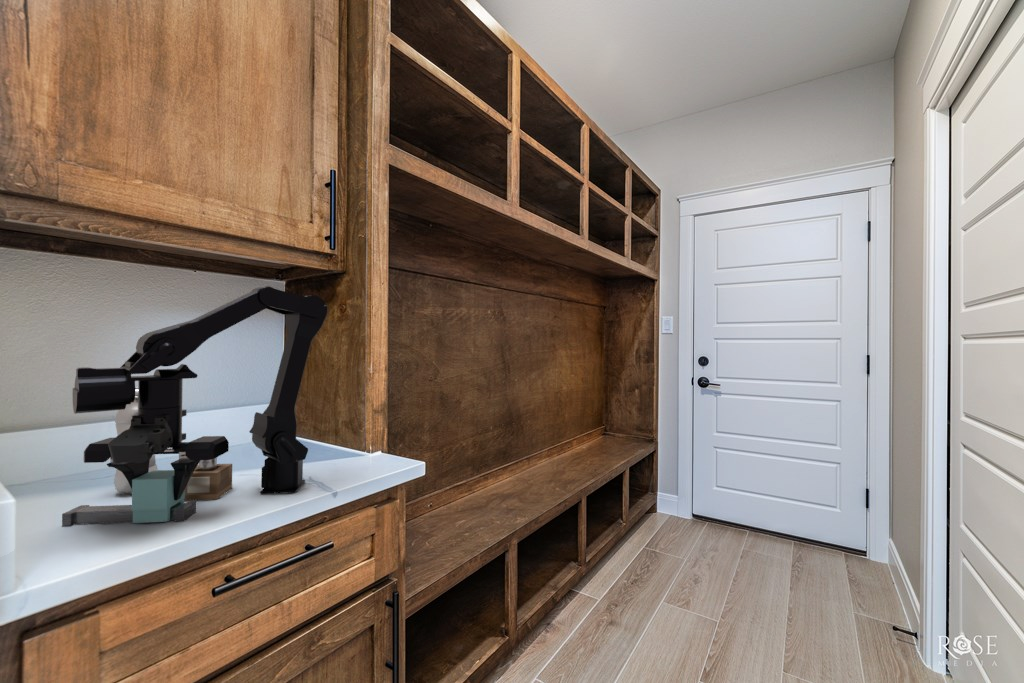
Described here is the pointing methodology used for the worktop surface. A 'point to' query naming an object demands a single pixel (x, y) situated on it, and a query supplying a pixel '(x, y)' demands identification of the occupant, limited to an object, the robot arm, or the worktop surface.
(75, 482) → the worktop surface
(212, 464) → the button
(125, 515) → the rail
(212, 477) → the brown button housing
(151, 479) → the carriage
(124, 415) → the plastic bottle
